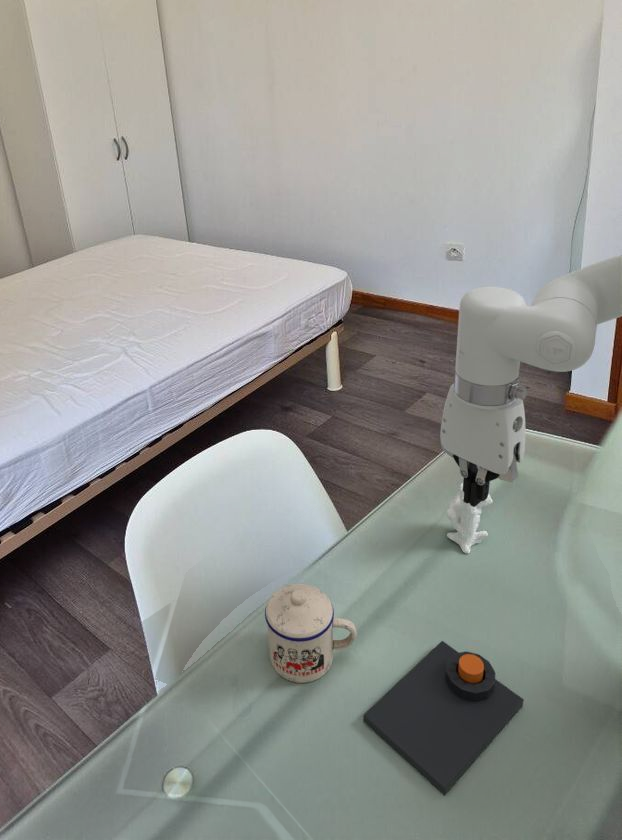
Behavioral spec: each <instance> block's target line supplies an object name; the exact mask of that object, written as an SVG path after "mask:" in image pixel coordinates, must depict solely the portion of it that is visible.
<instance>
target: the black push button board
mask: <svg viewBox="0 0 622 840" xmlns="http://www.w3.org/2000/svg"><path fill="white" fill-rule="evenodd" d="M466 654H472V655H475V656H477V657H479V658H480V659H481V660H482V662H483V664H484V671H483V678H482V680H481V681H480V682H479V683H476V684H471V683H467V682H465V681H464V680H462V679H461V677H460V676H459V673H458V667H459V659H460V658H461V657H462V656H463V655H466ZM523 706H524V698H523V697H521V696H519V695H518V694H517V693H516V692H514V691H513V690H511V689H510V688H509V687H507V686H506V685H504V684H503V683H502V682H500V681H499V680H497V679H496V671H495V669H494V668H493V666H492V663H490V661H489V660H488V659H486V658H485V657H483V656H482V655H480V654H479V653H475V652H471V651H461V652H459V651H457V650H456V649H455V648H453V647H452V646H450V645H449V644H447V643H446V642H445V641H444V640H441V641H440V642H439V643H438V644H437V645H436V646H435V647H434V648H433V649H432V650H431V651H429V652H428V654H426V655H425V656H424V657H423V658H422V659H421V660H420V661H418V663H417V664H416V665H415V666H413V667H412V669H410V670H409V671H408V672H407V673H406V674H405V675H404V676H403V677H402V678H401V679H399V680H398V682H397V683H395V684H394V685H393V686H392V687H391V688H390V689H389V690H388V691H387V692H386V693H385V694H383V695H382V697H381V698H380V699H378V700H377V701H376V702H375V703H374V704H373V705H372V706H371V707H370V708H369V709H368V710H367V711H366V712H365V713H363V716H362V717H363V720H362V721H363V723H364V724H365V725H366V726H367V727H368V728H369V729H371V730H372V731H373V732H374V733H375V734H376V735H377V736H378V737H380V738H381V739H382V740H383V742H385V743H386V744H387V745H388V746H389V747H390V748H391V749H392V750H394V752H395V753H397V754H398V755H399V756H400V757H401V758H402V759H403V760H404V761H406V762H407V763H408V764H409V765H410V766H411V767H412V768H414V769H415V771H417V772H418V773H419V774H420V775H421V776H422V778H424V779H425V780H427V782H429V784H431V785H432V786H433V787H434V788H435V789H437V791H439V792H440V793H441V794H442V796H447V794H448V793H449V791H450V790H452V788H453V787H454V786H455V785H456V784H457V782H458V781H459V780H461V778H462V777H463V776H464V774H465V773H466V772H467V771H468V770H469V769H470V768H471V766H473V764H474V763H475V762H476V761H477V760H478V759H479V757H480V756H481V755H482V754H483V752H485V750H486V749H487V748H488V747H489V746H490V744H491V743H492V742H493V741H494V740H495V739H496V738H497V737H498V735H499V734H500V733H501V732H502V731H503V730H504V729H505V728H506V726H507V725H508V724H509V723H510V721H511V720H513V718H514V717H515V716H516V714H518V713H519V711H520V710H521V709H522V708H523Z"/></svg>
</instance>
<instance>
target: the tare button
mask: <svg viewBox="0 0 622 840" xmlns="http://www.w3.org/2000/svg"><path fill="white" fill-rule="evenodd" d="M483 671H484V664H483V662H482V660H481V659H480V658H479V657H477V656H475V655H472V654H466V655H463V656H462V657H461V658H460V659H459V667H458V673H459V676H460V677H461V679H462V680H464V681H465V682H467V683H471V684H476V683H479V682H480V681H481V680H482V678H483Z"/></svg>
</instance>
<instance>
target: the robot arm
mask: <svg viewBox="0 0 622 840" xmlns="http://www.w3.org/2000/svg"><path fill="white" fill-rule="evenodd" d="M458 309H459V311H458V322H457V323H458V324H457V338H456V339H457V340H456V342H457V343H456V355H455V366H454V367H455V368H454V380H453V381H454V382H453V383H452V384H451V385H450V387H449V390H448V393H447V395H446V399H445V402H444V406H443V411H442V417H441V422H440V435H439V436H440V437H439V438H440V444H441V447H440V448H441V450H442V452H444V453H445V454H447V455H448V456H449V457H451V458H453V460H454V462H455V463H456V464H457V466H458V468H459V475H460V476H461V478H462V477H463V479H462V480H463V481H462V483H463V492H464V499H463V501H464V502H465V503H467V504H468V503H470V505H471V506H473V507H475V506H476V505H478V504H479V503H480V502H481V501H485V500H486V499H487V497H488V494H490V485H491V483H490V482H491V481H494V480H497V479H499V480H500V481H503V482H508V483H513V482H514V481H515V480H516V479H517V478H518V477H519V473H518V465H517V464H518V463H519V464H520V463H521V462H522V461H523V459H524V457H525V449H526V413H525V406H524V400H525V399H526V397H527V395H528V390H527V389H525V388H522V386H520V380H521V378H520V377H519V375H520V367H521V363H524V364H527V365H530V366H533V367H536V368H539V369H542V370H544V371H545V370H546V371H550V372H556V373H563V372H564V373H565V372H566V373H567V372H571V371H575V370H577V369H579V368H581V367H582V366H585V364H586V363H587V362H588V361H589V360H590V359H591V357H592V355H593V353H594V351H595V345H596V337H597V328H598V326H599V325H600V324H603V323H606V322H609V321H612V320H616V319H619V318H621V317H622V254H621V255H616V256H613V257H609V258H606V259H602V260H600V261H598V262H594V263H592V264H589V265H587V266H584V267H581V268H579V269H576V270H574V271H571V272H568V273H565V274H564V275H561V276H558V277H557V278H555V279H553V280H551V281H549V282H547V284H545V285H544V286H542V287H541V288H540V289H539V290H538V291H537V292H536V294H535V296H534V297H533V300H532V302H531V305H527V303H526V301H525V299H524V297H523V296H522V295H521V294H519V293H518V292H517V291H515V290H513V289H509V288H507V287H502V286H482V287H481V286H479V287H475V288H473V289H470V290H468V291H467V292H466V293H465V294H464V295H463V296H462V297H461V299H460V302H459V308H458Z"/></svg>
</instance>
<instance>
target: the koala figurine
mask: <svg viewBox="0 0 622 840" xmlns="http://www.w3.org/2000/svg"><path fill="white" fill-rule="evenodd" d="M458 488H459V492H458V493H457V494H455V496H454V497H453V499H452V500H451V501H450V503H449V506H448V509H447V510H446V517H447V519H448V521H449V522H450V524H451V526H452V527H453V528H454V529H455V530H456V532H447V534H446V536H447V538H448V539H449V540H451V541H452V542H455V544H457V545H459V547H460V549H461V550H462V553H464V554H466V555H467V554H470V553H471V548H472V547H473V546H474V545H476V544H480V543H482V540H484V539H485V538H488V536H489V533H488V532H487V531H486V530H481V531H477V529H478V528H479V526H480V522H481V514H482V513H483V510H482V507H485V506H492V504H493V502H494V501H493V499H492V497H491V494H490V493H489V494H488V497H487V499H486V500H485V501H481V502H480V503H479V504H478V505H476V506H475V507H473V506H471V505H470V503H468V504H467V503H465V502H464V501H463V499H464V492H463V482H462V483H460V485H459V486H458Z"/></svg>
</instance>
